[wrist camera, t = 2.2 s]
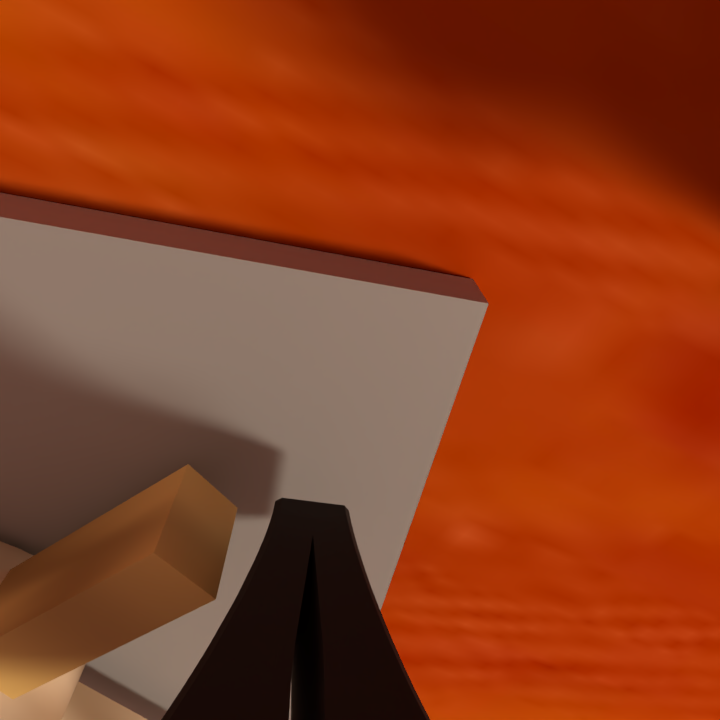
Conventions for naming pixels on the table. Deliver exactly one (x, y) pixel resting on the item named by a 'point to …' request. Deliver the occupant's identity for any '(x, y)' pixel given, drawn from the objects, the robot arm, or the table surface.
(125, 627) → the capstan
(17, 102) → the table surface
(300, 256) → the stand board
